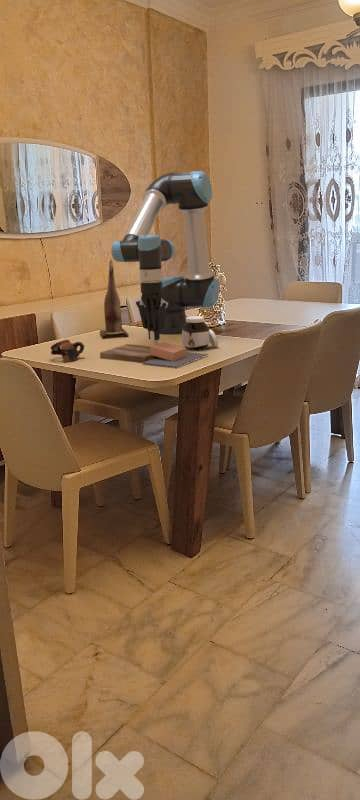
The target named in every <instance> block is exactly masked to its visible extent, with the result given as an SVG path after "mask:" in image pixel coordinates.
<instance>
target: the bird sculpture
mask: <svg viewBox="0 0 360 800" xmlns="http://www.w3.org/2000/svg"><path fill="white" fill-rule="evenodd" d="M108 268H109V269H108V283H107V284H108V285H107V291H106V293H105V297H104V301H103V305H104V306H103V310H104V312H103V313H104V322H105V329H104V328H103V329H100V330H99V335H100V337H101V338H102V339H104V338H105V336H106V335H108V334H116V333H117V334H118V333H119V334H120V333H121V334H122V333H123V334H125V335H126V336H127V337H129V333H128V332H127V330H125V329H124V328H123V323H122V322H123V321H122V309H121V307H122V306H121V298H120V297H119V292H118V290H117V288H116V287H117V285H116V280H115V269H114V263H113V259H110V260H109V264H108Z"/></svg>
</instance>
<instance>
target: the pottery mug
mask: <svg viewBox="0 0 360 800" xmlns="http://www.w3.org/2000/svg"><path fill="white" fill-rule="evenodd" d="M78 348H79V350H78ZM50 349H51V351H50V355H53V356H56V355H57V356H62V360H63V363H65V364H66V363H69V362H71V361H78V358H79V357H80V354H82V353H83V351H84V349H85V345H84V344H83V342H81V341H77V342H73V343H72V342H71V341H70V340H69V339H64V340H60V341H58V342H56V343H54V344H52V345H51V346H50Z"/></svg>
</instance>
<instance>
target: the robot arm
mask: <svg viewBox="0 0 360 800" xmlns="http://www.w3.org/2000/svg"><path fill="white" fill-rule="evenodd" d="M212 194H213V187H212V184H211V180H210V177H209V176H208V174H207V173H206V172H205V171H202V170H200V171H199V170H198V171H197V170H196V171H195V170H190V171H180V172H167V173H163V174H162V175H160V176H159V177H157V178H156V179H155V180H153V181H152V182H151V183H150V184H149V185H148V186H147V188H146V189H145V191H144V193H143V195H142V202H141V204H140V207H139V208H138V210H137V212H136V214H135V216H134V217H133V219H132V221H131V223H130V225H129V226H128V230H127V231H126V232H125V235H124V236H123V238H122V240H121V239H118V240H116V241H114V242H112V244H111V248H110V250H111V252H110V253H111V255H112V258H113V259H112V260H114V261H115V262H118V263H136V262H138V264H139V281H141V282H140V293H141V296H140V300H137V301H136V302H135V306H137V308H138V311H139V315H140V319H141V324H142V327H143V330H144V329H145V330H147V331H148V334H147V335H148V340H150V346H153V345H156V344H159V340H160V338H161V334H162V335H176V334H182V328H183V326H184V325H185V324H186V323H187V322H186V318H187V317H188V316H187V314H186V308H203V309H204V308H213V307H215V305H216V304H217V302H218V300H219V299H218V298H219V295H220V286H221V285H220V281H219V279H217V278H215V274H214V273H213V272H212V271H211V270H210V259H209V250H208V249H209V247H208V236H207V235H208V234H207V226H206V225H207V224H206V209H207V208H208V206H209V205H208V204H209V203H210V202H212V199H213V195H212ZM168 205H178V210H179V211H180V212H181V213H182V215H183V216H182V217H183V218H182V219H183V227H184V235H185V236H184V237H185V246H186V255H187V258H186V259H187V267H188V272H187V274H186V275H185V277H184V275H182V274H181V275H174V276H169V277H163V273H162V270H163V269H162V262H167V261H169V260H171V259H172V258H173V257H174V256H175V253H176V247H175V245H174V243H173V242H172V241H171V240H169V239H167V238H161V237H160V236H159V234H150V233H151V230H152V228H153V226H154V224H155V222H156V221H157V219H158V217H159V215H160V212H161V211H163V210H164V209H165V208H166V206H168Z"/></svg>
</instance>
